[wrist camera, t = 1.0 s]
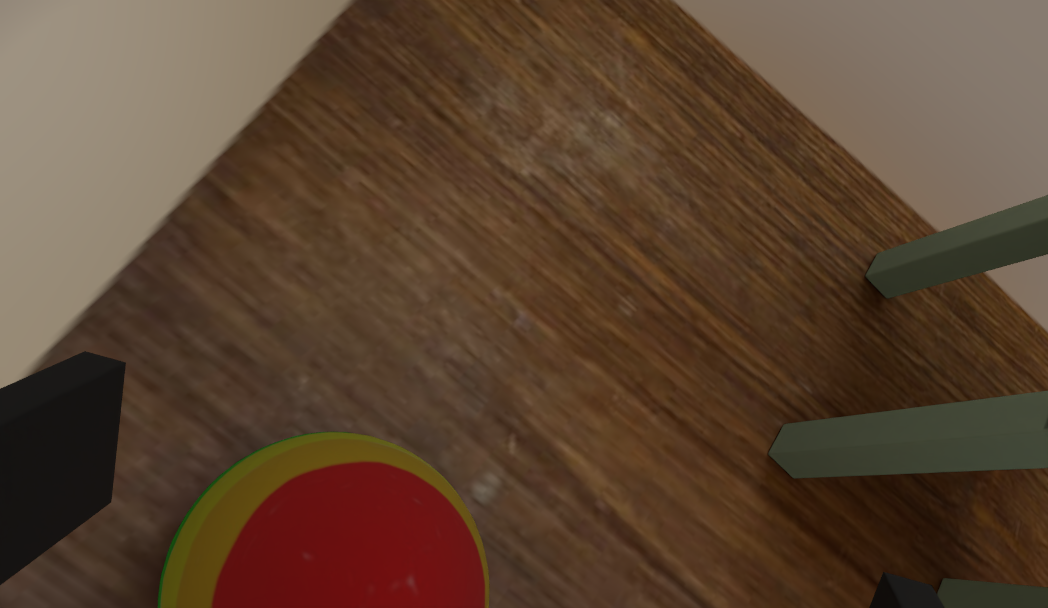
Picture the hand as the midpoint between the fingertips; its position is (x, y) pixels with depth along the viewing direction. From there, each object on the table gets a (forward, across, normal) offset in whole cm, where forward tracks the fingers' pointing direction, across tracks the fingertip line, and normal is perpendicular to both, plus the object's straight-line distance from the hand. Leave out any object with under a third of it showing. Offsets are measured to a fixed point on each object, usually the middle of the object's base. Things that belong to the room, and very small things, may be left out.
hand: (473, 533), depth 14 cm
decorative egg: (+9, -6, -9) cm, 14 cm away
